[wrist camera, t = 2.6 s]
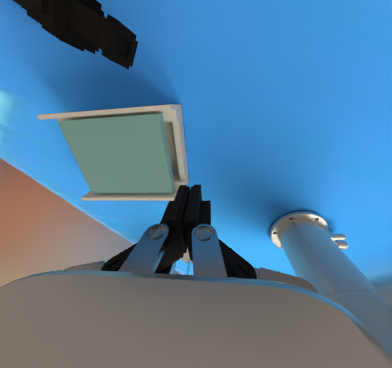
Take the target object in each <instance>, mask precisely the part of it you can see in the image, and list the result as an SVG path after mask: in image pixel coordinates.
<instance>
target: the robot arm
mask: <svg viewBox="0 0 392 368" xmlns="http://www.w3.org/2000/svg"><path fill="white" fill-rule="evenodd" d="M270 237H271V239H272V242H273V243H274V244H275V245H276V246H277V247H279V248H282V249H283V250H284V252H285V254H286V256H287V258H288V260H289V262H290V264H291V266H292V268H293V270H294V272H295V274H296V276H297V277H295V276H292V275H288V274H284V273H280V272H276V271H272V270H269V269H265V268H261V267H260V268H259V269H257V268H253V266H252V265H251V264H250V263H248V262H247V261H246V260H245V259H243V258H242V257H241V256H240V255H238V254H237V253H236V252H235V251H233V250H232V249H231V248H229V247H228V246H227V245H226V244H224V243H223V242H222V241H221V240H219V239H218V237H217V232H216V230H215V228H214V227H212V226H211V205H210V201H202V195H201V185H194V187H191V190H190V187H187V185H180V186H179V188H178V191H177V194H176V197H175V199H174V201H169V203H168V205H167V208H166V210H165V213H164V215H163V218H162V220H161V222H160V224H155V225H152V226H151V227H149V228H148V229H147V230H146V232H145V233H144V234H143V236H142V237H141V239H140V240H139V242H138V243H136V244H135V245H133V246H131V247H130V248H128V249H126V250H124V251H123V252H121V253H119V254H118V255H116V256H114V257H113V258H111V259H110V260H108V261H107V262H105V261H100V262H94V263H89V264H83V265H78V266H72V267H69V268H66V269H65V270H58V271H50V272H44V273H39V274H34V275H30V276H27V277H24V278H21V279H18V280H15V281H13V282H11V283H8V284H6V285H4V286H2V287H0V368H392V306H391V305H390V304H389V302H388V301H387V300H386V299H385V298H384V297H383V296H382V295H381V294H380V293H379V291H378V290H377V289H376V288H375V287H374V286H373V285H372V284H371V282H370V281H369V280H368V279H367V278H366V277H365V276H364V275H363V274H362V272H361V271H360V270H359V269H358V268H357V267H356V266H355V265H354V263H353V262H352V261H351V260H350V259H349V258H348V257H347V256H346V255H345V253H344V252H343V251H342V250H341V249H347V248H348V245H347V243H346V242H345V241H344V240H345V235H344V234H332V233H331V232H330V231H329V230H328V225H327V222H326V221H325V220H324V219H323V218H322V217H321V216H320V215H318V214H316V213H313V212H308V211H300V212H293V213H290V214H287V215H285V216H283V217H281V218H279V219H278V220H277V221H276V222H275V223H274V224H273V225H272V227H271V229H270ZM187 247H188V253H189V258H190V260H191V261H192V262H193V274H194V275H177V274H176V275H175V274H173V272H174V269H175V266H176V261H177V260H179V259H180V258H183V256H184V253H187Z"/></svg>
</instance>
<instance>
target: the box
mask: <svg viewBox="0 0 392 368" xmlns="http://www.w3.org/2000/svg"><path fill="white" fill-rule="evenodd" d="M159 113H163V116H164V123H165V129H166V135H167V142H168V148H169V154H170V161H171V167H172V173H173V179H174V186H175V189H174V191H173V193H152V194H92V192H91V191H90V192H88V193H87V194H85V195H84V196H83V197H81V199H82V200H168V201H174V199H175V197H176V194H177V191H178V188H179V186H180V185H187V186H188V183H189V174H188V164H187V154H186V145H185V135H184V125H183V115H182V105H172V104H169V105H157V106H145V107H132V108H120V109H107V110H95V111H82V112H70V113H57V114H45V115H36V116H37V117H38V119H39V120H41V119H54V118H57V120H58V121H65V120H77V119H90V118H104V117H118V116H132V115H145V114H159Z"/></svg>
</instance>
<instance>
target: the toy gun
mask: <svg viewBox="0 0 392 368" xmlns="http://www.w3.org/2000/svg"><path fill="white" fill-rule="evenodd" d="M13 1H15V2H16V3H18V4H19V5H21V6H22V8H24V9H25V10H27V15H28V16H30V17H31V18H33V19H34V20H36V21H37V22H39V23H40V24H42V28H43V29H45V30H46V31H48V32H49V33H51V34H52V35H53V36H55V37H56V38H58V39H59V40H61V41H63V42H65V43H67V44H69V45H71V46H73V47H75V48H77V49H79V50H82V51H84V49H86V50H88V51H90V52H92V53H94V54H95V50H96V51H99V48H100V49H101V50H102V55H103V56H105V57H106V58H108V59H109V60H111V61H113V62H115V63H117V64H119V65H121V66H123V67H125V68H127V69H129V65H130V66H131V67H132V65H133V61H134V57H135V53H136V48H137V44H138V42H137V41H136V35H135V34H134V33H133V32H131V31H130V30H129V29H128V28H127V27H125V26H124V25H123V24H122V23H121V22H119V21H118V20H117V19H115V18H114V17H112V16H110V15H109V14H108V16H107V19H106V18H105V17H103V16H104V12H103V11H102V10H101V4H100V3H99V2H98V1H96V0H13Z"/></svg>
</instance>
